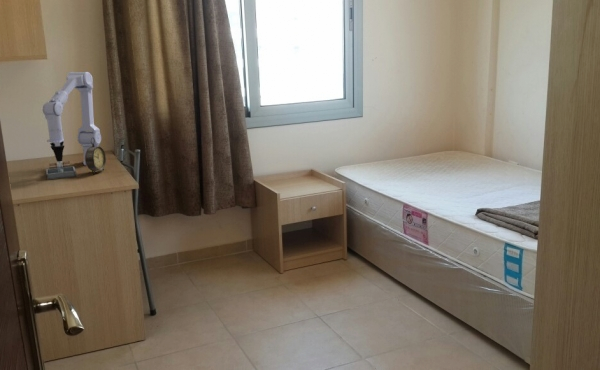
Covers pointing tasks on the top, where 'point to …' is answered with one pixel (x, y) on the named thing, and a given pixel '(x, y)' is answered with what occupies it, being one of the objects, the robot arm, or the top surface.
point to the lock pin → (59, 166)
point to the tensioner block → (54, 165)
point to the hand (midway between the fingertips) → (59, 159)
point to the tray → (55, 175)
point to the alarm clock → (95, 158)
